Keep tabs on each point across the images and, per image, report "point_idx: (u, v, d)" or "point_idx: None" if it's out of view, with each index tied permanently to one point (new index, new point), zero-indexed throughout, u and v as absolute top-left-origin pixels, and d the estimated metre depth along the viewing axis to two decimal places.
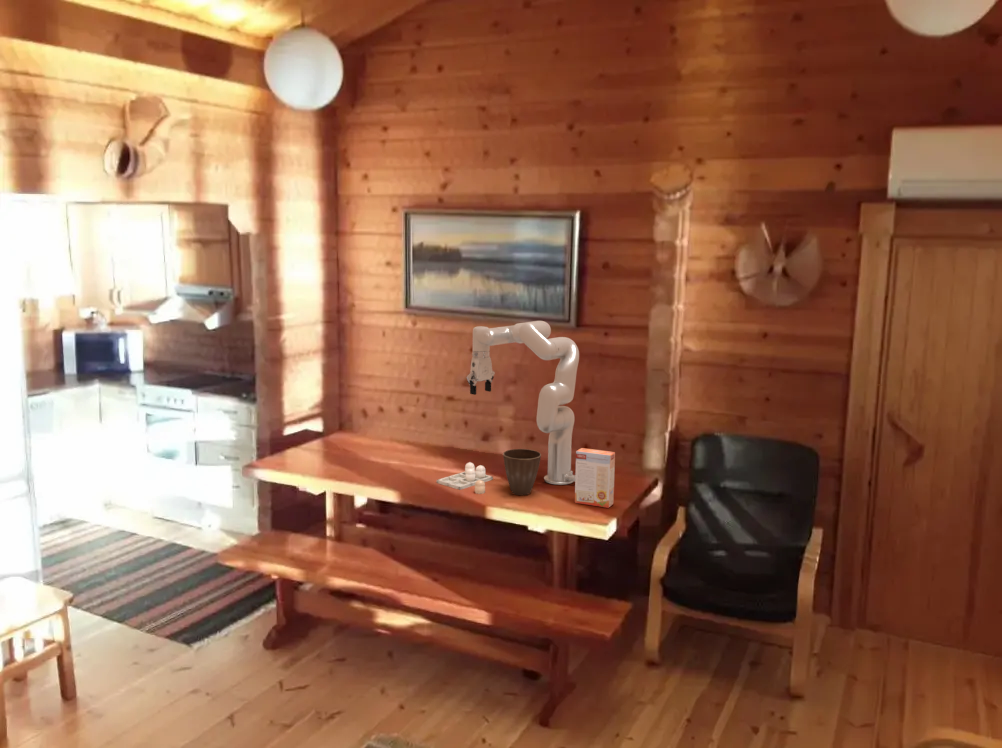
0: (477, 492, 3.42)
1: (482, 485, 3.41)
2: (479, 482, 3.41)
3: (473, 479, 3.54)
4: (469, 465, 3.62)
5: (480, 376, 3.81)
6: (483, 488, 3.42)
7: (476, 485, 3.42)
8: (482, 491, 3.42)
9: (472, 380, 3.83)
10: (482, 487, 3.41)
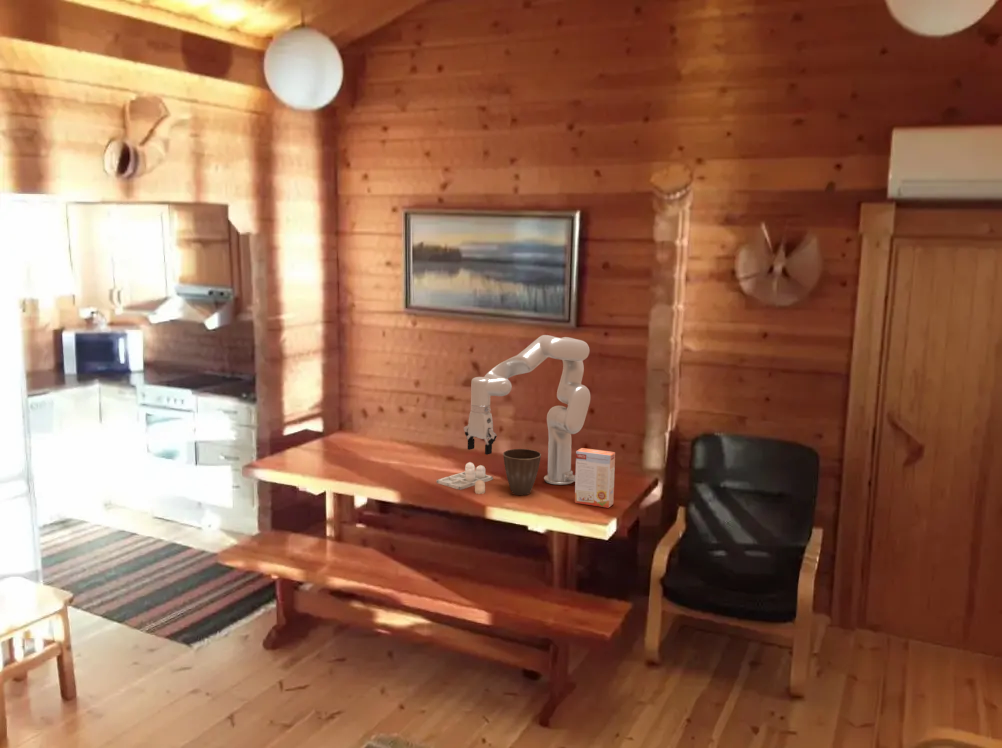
0: (477, 492, 3.42)
1: (482, 485, 3.41)
2: (479, 482, 3.41)
3: (473, 479, 3.54)
4: (469, 465, 3.62)
5: None
6: (483, 488, 3.42)
7: (476, 485, 3.42)
8: (482, 491, 3.42)
9: None
10: (482, 487, 3.41)
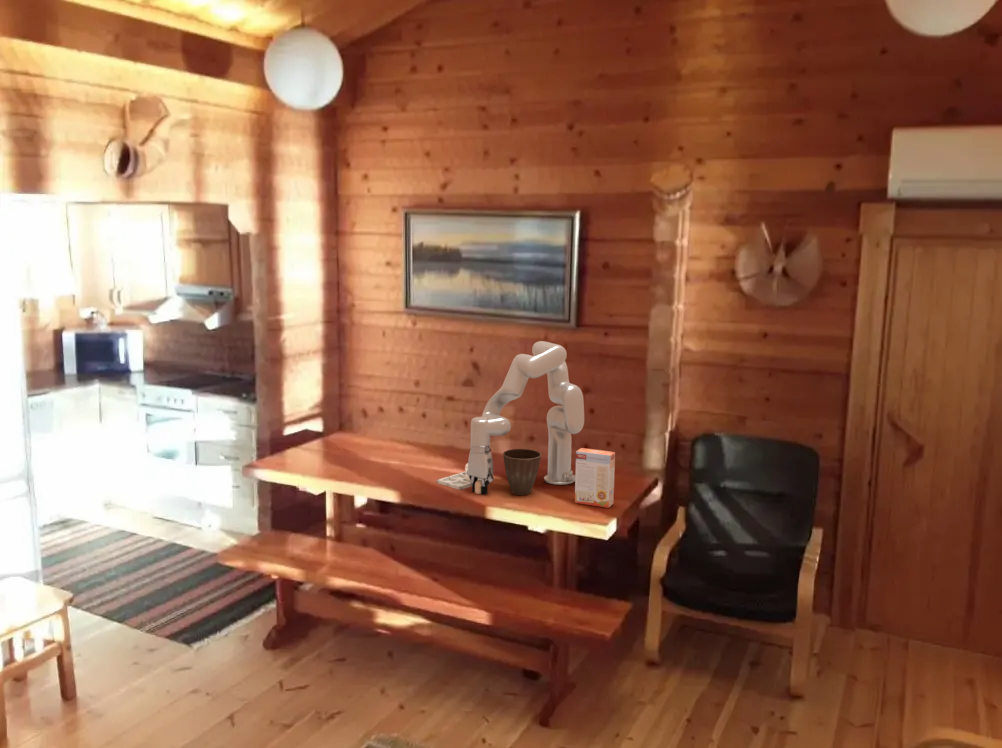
0: (477, 492, 3.42)
1: None
2: (479, 482, 3.41)
3: None
4: None
5: None
6: None
7: (476, 485, 3.42)
8: None
9: None
10: None
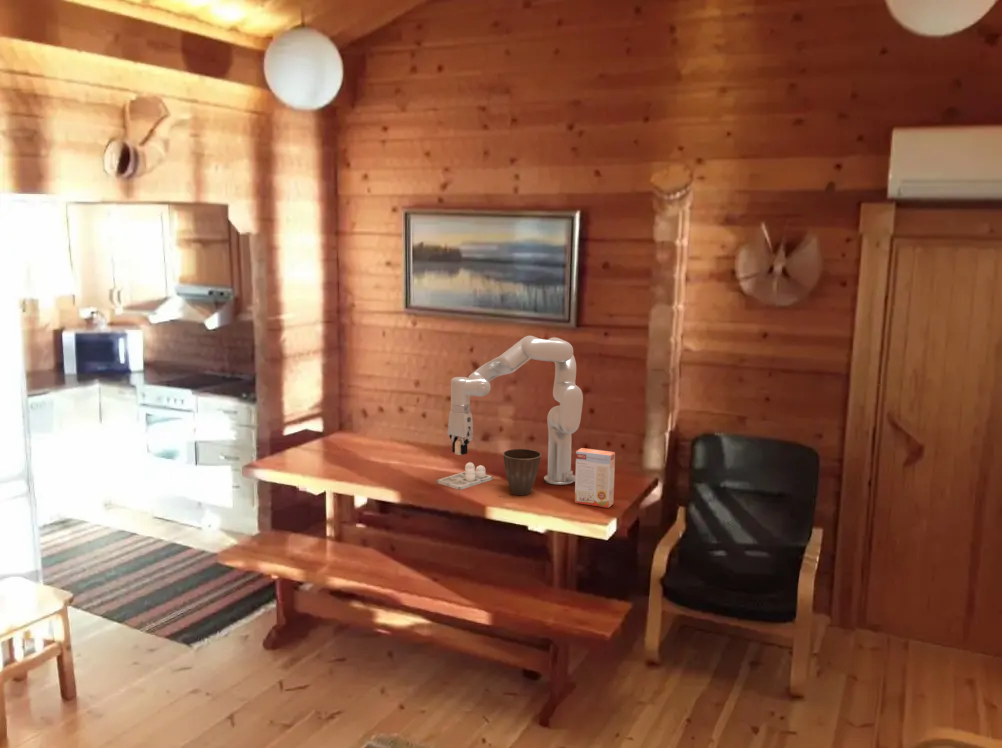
0: (457, 451, 3.47)
1: None
2: (459, 441, 3.47)
3: (473, 479, 3.54)
4: (469, 465, 3.62)
5: None
6: None
7: (456, 444, 3.47)
8: None
9: None
10: None
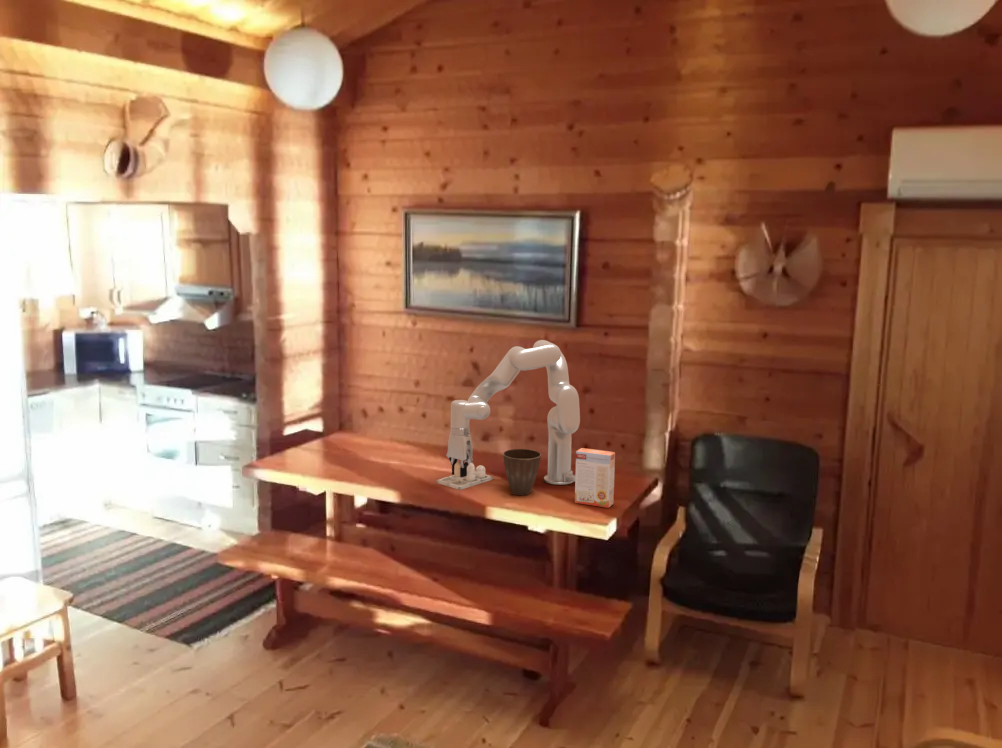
0: (456, 473, 3.48)
1: None
2: (458, 464, 3.48)
3: (473, 479, 3.54)
4: (469, 465, 3.62)
5: None
6: None
7: (455, 466, 3.48)
8: None
9: None
10: None
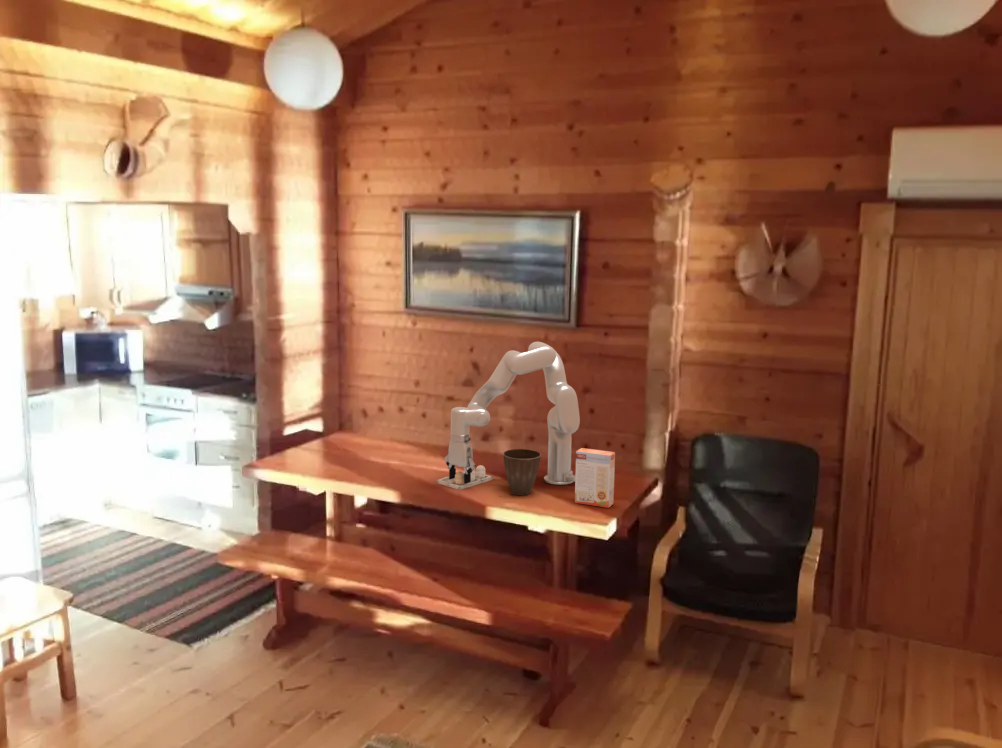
0: (457, 483, 3.49)
1: (462, 476, 3.49)
2: (459, 473, 3.49)
3: (473, 479, 3.54)
4: None
5: None
6: (463, 479, 3.49)
7: (456, 476, 3.49)
8: (462, 482, 3.49)
9: (465, 468, 3.47)
10: (462, 478, 3.49)
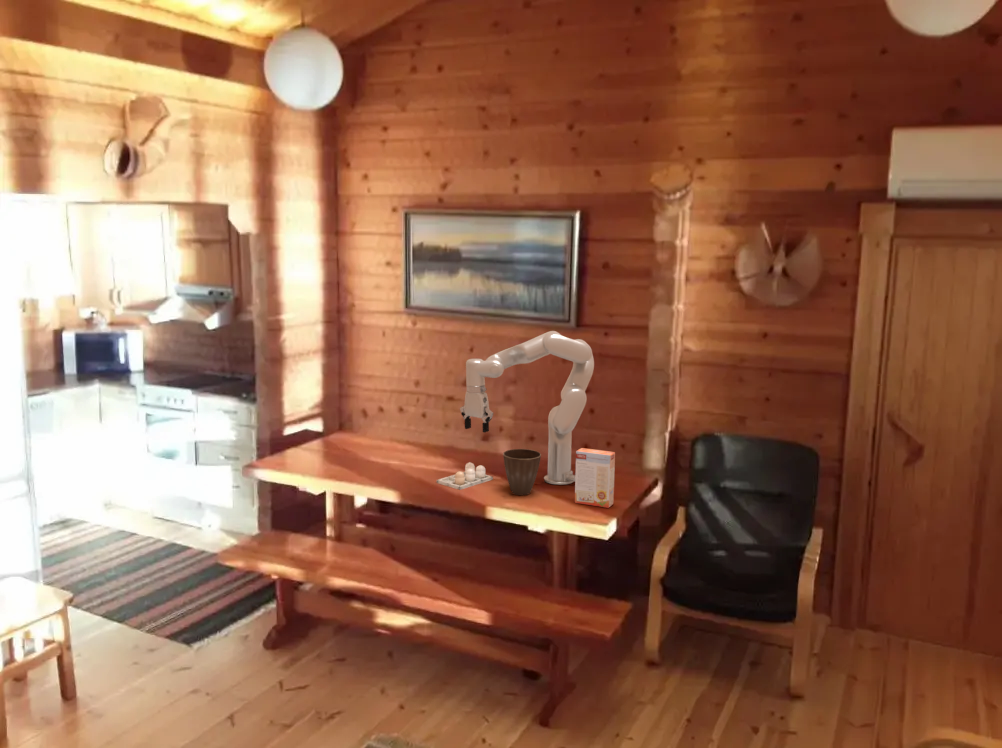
0: (457, 483, 3.49)
1: (462, 476, 3.49)
2: (459, 473, 3.49)
3: (473, 479, 3.54)
4: (469, 465, 3.62)
5: None
6: (463, 479, 3.49)
7: (456, 476, 3.49)
8: (462, 482, 3.49)
9: None
10: (462, 478, 3.49)
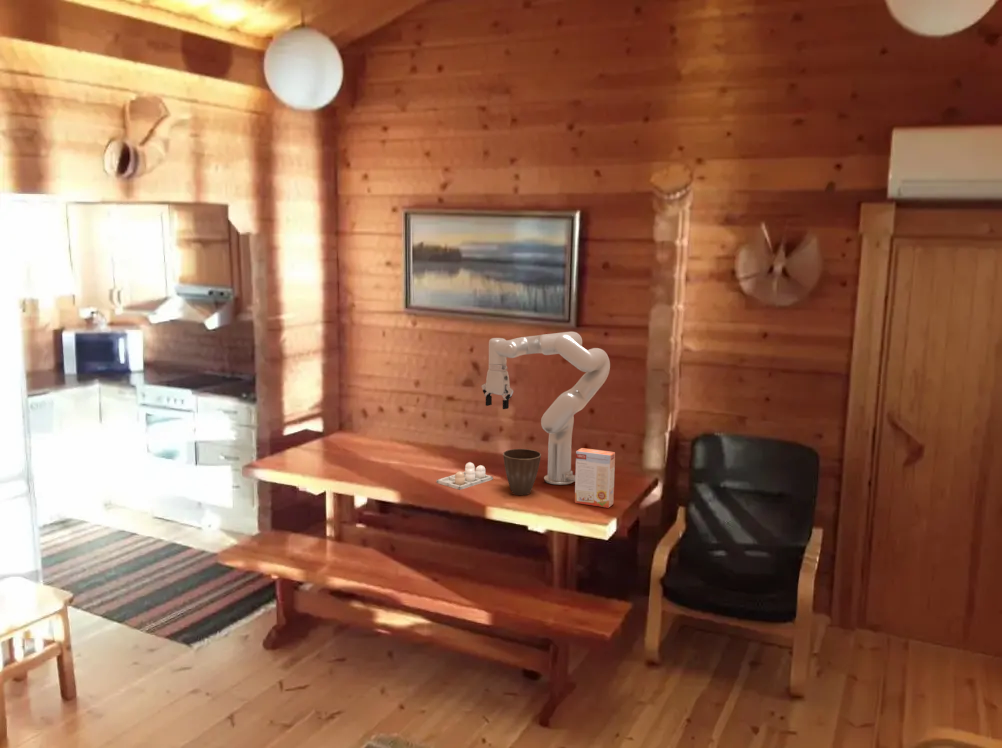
0: (457, 483, 3.49)
1: (462, 476, 3.49)
2: (459, 473, 3.49)
3: (473, 479, 3.54)
4: (469, 465, 3.62)
5: None
6: (463, 479, 3.49)
7: (456, 476, 3.49)
8: (462, 482, 3.49)
9: None
10: (462, 478, 3.49)
